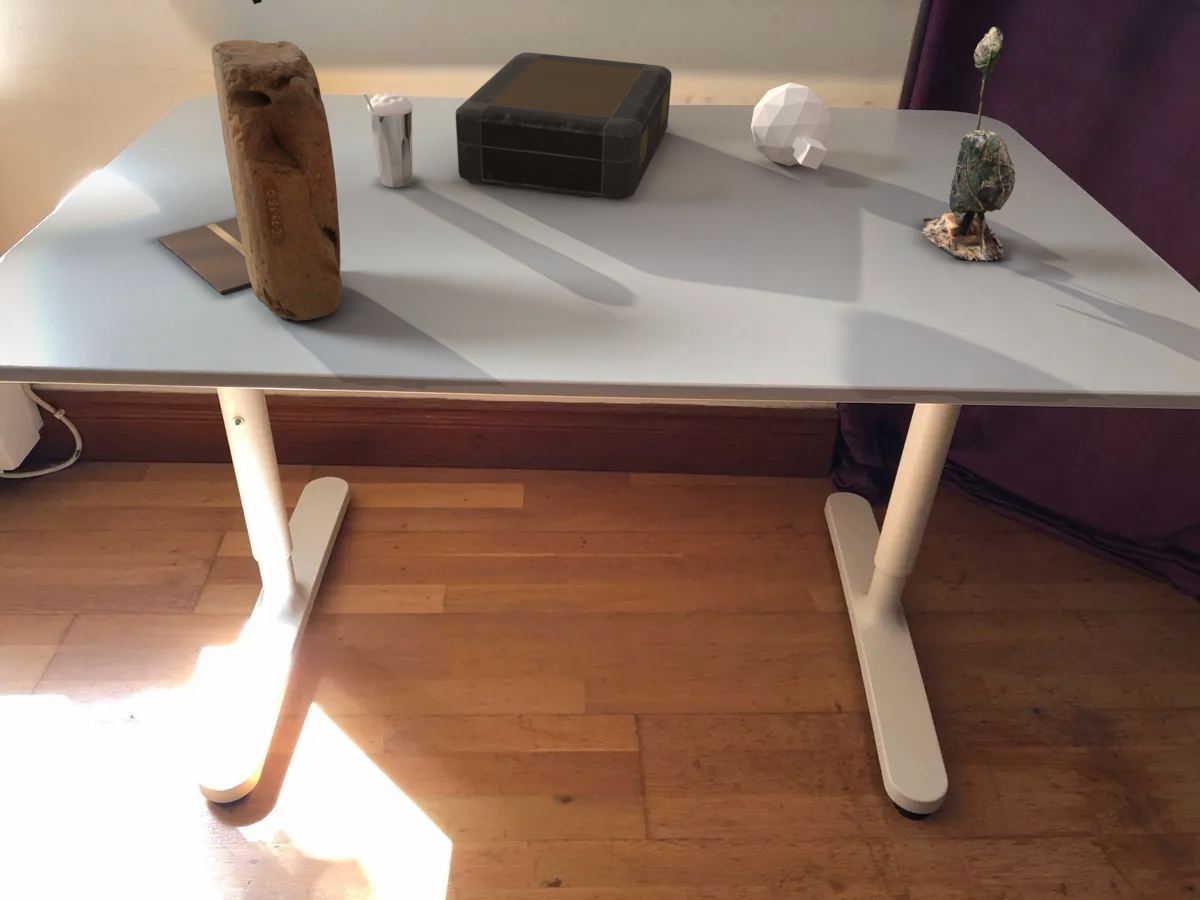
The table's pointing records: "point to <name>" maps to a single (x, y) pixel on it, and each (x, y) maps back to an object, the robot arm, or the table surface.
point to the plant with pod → (976, 179)
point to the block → (281, 175)
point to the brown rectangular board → (213, 254)
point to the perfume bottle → (791, 126)
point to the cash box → (564, 125)
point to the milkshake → (392, 137)
